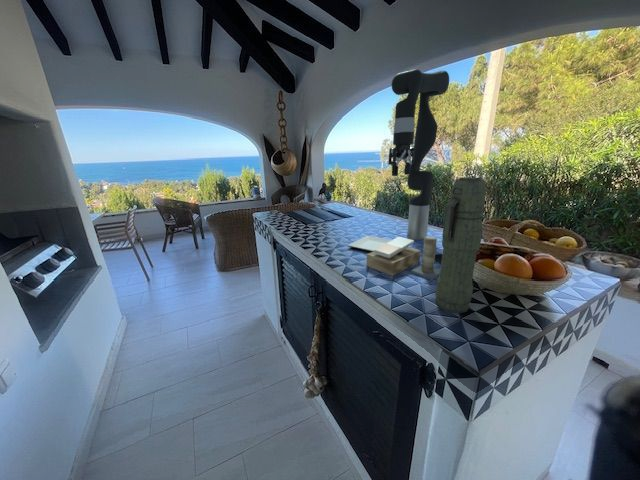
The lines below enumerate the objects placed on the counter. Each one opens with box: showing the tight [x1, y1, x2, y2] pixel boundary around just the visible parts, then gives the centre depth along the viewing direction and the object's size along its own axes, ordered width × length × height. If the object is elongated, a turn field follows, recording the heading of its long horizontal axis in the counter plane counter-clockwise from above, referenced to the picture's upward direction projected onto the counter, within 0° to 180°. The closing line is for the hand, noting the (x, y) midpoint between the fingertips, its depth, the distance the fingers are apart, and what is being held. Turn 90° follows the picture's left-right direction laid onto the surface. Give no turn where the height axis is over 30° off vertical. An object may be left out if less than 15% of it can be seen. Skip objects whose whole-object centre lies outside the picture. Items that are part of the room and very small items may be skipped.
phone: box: [434, 253, 443, 265], centre depth 100 cm, size 8×1×15 cm
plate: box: [347, 235, 393, 253], centre depth 120 cm, size 19×19×2 cm
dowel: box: [421, 236, 438, 273], centre depth 90 cm, size 4×4×12 cm
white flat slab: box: [374, 236, 415, 258], centre depth 98 cm, size 16×7×1 cm, turn 130°
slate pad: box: [410, 264, 441, 281], centre depth 92 cm, size 8×8×1 cm
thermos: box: [434, 177, 487, 314], centre depth 67 cm, size 9×12×35 cm
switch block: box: [366, 246, 421, 277], centre depth 100 cm, size 18×12×6 cm, turn 130°
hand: (401, 175), depth 103 cm, fingers open, 8 cm apart
